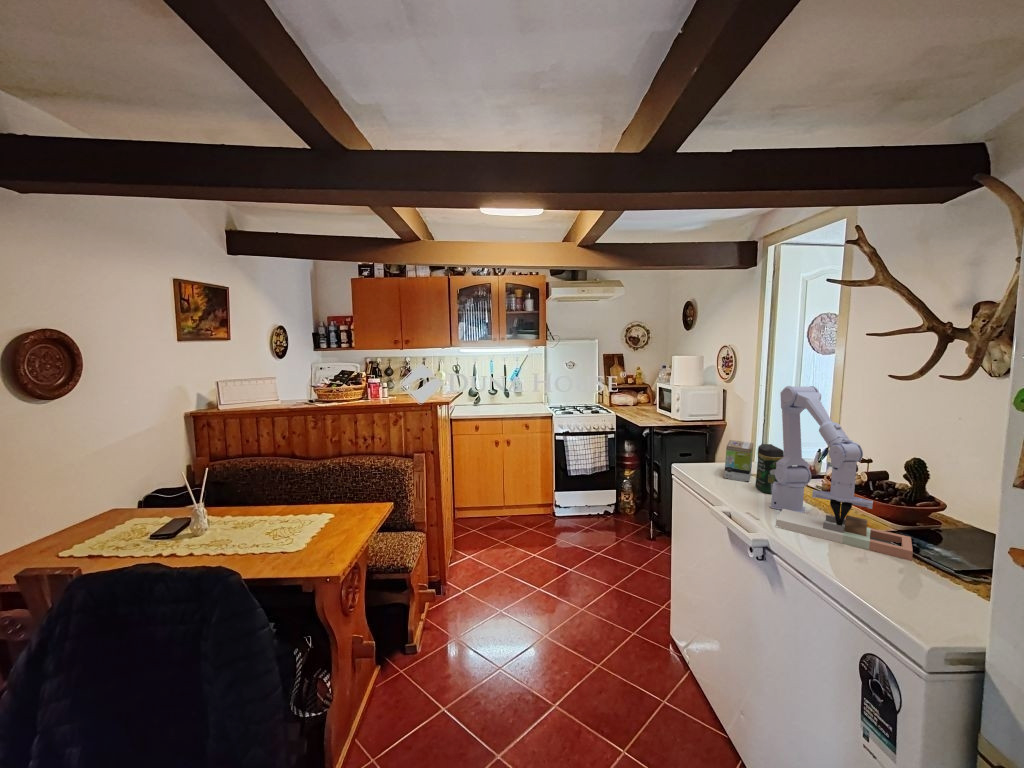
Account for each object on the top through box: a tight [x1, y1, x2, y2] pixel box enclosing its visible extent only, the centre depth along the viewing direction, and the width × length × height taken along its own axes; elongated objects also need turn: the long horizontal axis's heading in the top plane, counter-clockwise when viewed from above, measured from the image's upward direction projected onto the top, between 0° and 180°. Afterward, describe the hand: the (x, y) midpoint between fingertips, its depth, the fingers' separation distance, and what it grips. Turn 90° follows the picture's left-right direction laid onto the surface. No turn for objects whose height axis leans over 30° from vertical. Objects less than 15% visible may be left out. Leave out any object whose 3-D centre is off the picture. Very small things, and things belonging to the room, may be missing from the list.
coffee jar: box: [755, 443, 784, 495], centre depth 171 cm, size 10×8×19 cm
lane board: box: [775, 509, 914, 561], centre depth 131 cm, size 32×12×4 cm, turn 49°
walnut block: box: [845, 514, 868, 536], centre depth 128 cm, size 5×5×4 cm
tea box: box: [723, 439, 754, 482], centre depth 190 cm, size 15×10×15 cm
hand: (839, 525), depth 131 cm, fingers closed
